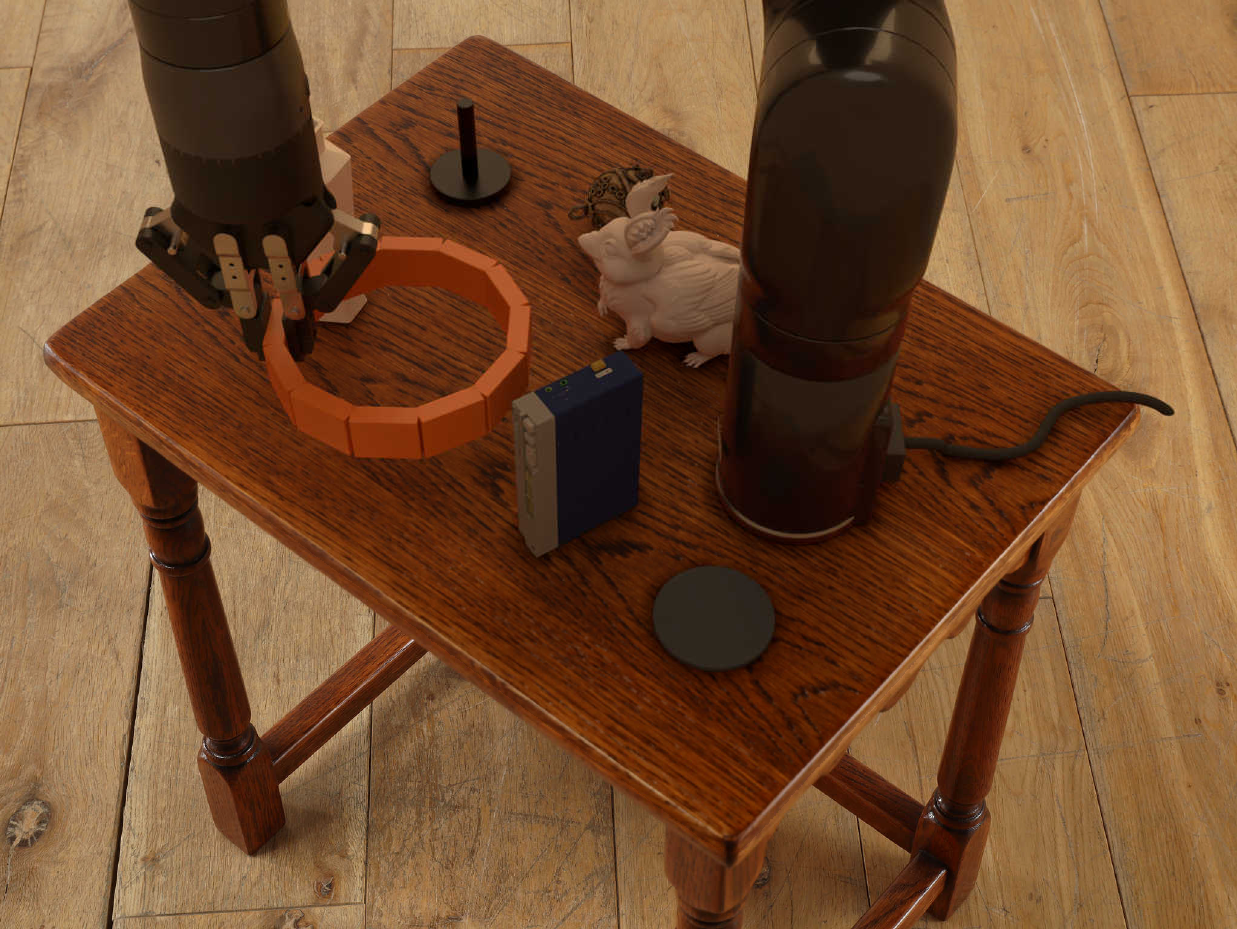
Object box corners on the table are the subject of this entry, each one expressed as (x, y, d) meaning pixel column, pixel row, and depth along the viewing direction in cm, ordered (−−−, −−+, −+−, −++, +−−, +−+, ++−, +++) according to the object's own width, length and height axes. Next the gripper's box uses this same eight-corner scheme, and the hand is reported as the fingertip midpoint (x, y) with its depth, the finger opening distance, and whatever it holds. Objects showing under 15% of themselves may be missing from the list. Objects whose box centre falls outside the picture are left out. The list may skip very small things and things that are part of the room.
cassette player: (618, 480, 91) (622, 344, 82) (639, 505, 90) (646, 370, 81) (515, 532, 88) (507, 398, 79) (536, 559, 87) (530, 426, 78)
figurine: (575, 295, 101) (574, 147, 92) (791, 284, 102) (813, 137, 93) (583, 381, 96) (582, 234, 87) (811, 370, 97) (836, 223, 87)
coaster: (771, 570, 87) (772, 567, 87) (777, 673, 83) (778, 669, 82) (652, 568, 87) (652, 564, 87) (652, 670, 82) (652, 666, 82)
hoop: (537, 276, 91) (535, 240, 88) (522, 462, 81) (521, 426, 79) (295, 269, 91) (288, 232, 88) (253, 454, 81) (244, 418, 79)
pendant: (682, 239, 105) (686, 184, 101) (582, 266, 103) (582, 211, 99) (654, 195, 108) (656, 140, 104) (556, 221, 106) (555, 166, 102)
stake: (514, 155, 111) (510, 77, 105) (509, 208, 107) (504, 130, 102) (434, 154, 111) (426, 75, 105) (426, 207, 107) (417, 128, 102)
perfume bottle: (377, 282, 102) (351, 103, 90) (364, 327, 99) (335, 148, 88) (312, 277, 102) (277, 97, 91) (297, 322, 99) (259, 142, 88)
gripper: (72, 149, 70) (153, 396, 83) (360, 158, 70) (395, 403, 83) (110, 55, 75) (181, 302, 88) (379, 63, 75) (409, 309, 88)
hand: (285, 350), depth 86 cm, fingers closed on hoop, 1 cm apart
